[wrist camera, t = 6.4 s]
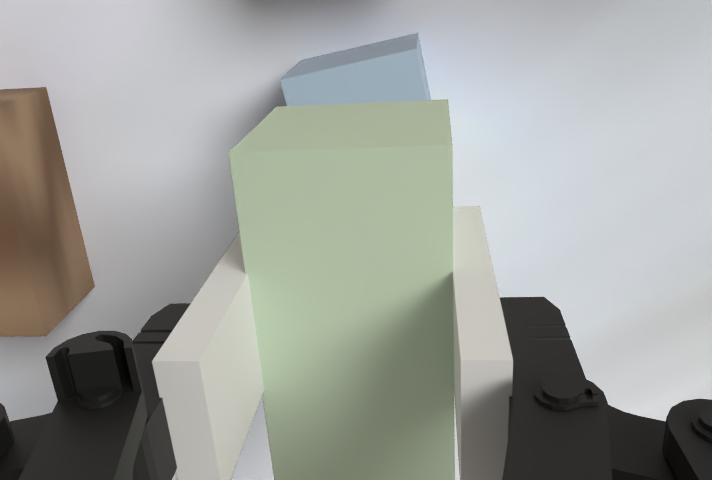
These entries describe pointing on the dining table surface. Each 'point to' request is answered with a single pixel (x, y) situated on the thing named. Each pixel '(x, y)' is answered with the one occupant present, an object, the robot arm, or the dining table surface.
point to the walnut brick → (36, 220)
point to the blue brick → (360, 75)
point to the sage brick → (352, 287)
